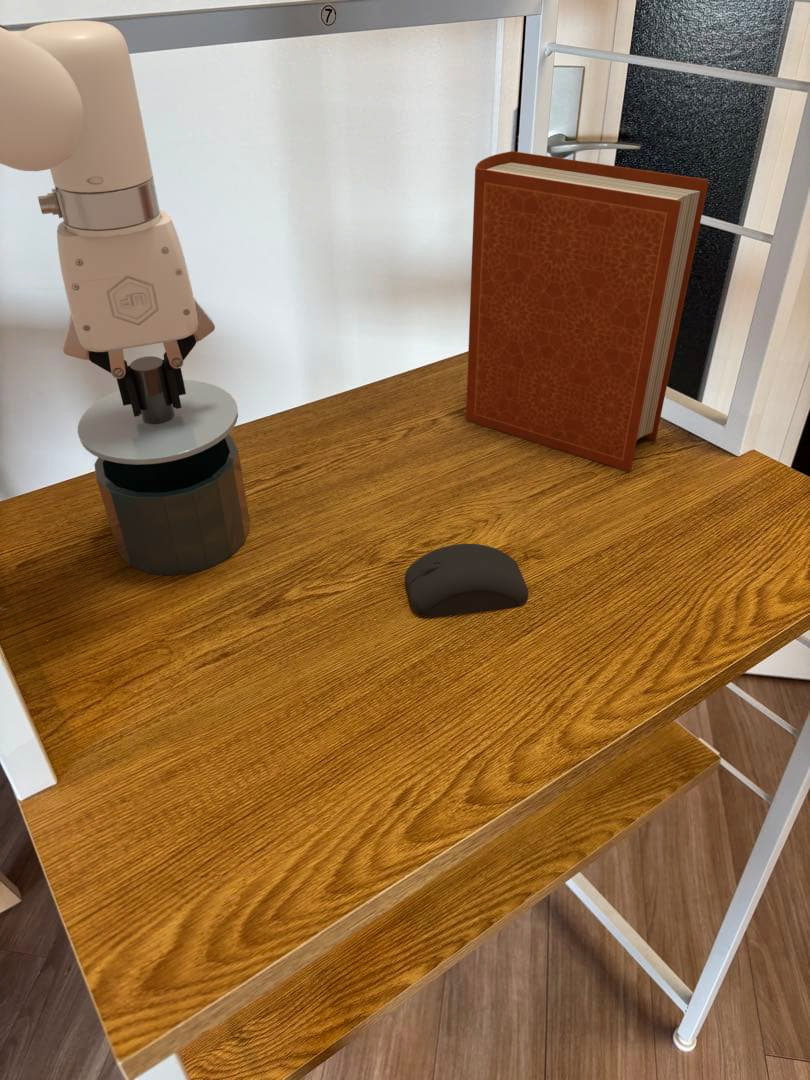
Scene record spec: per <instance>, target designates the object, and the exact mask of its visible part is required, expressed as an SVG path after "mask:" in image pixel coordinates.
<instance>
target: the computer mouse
mask: <svg viewBox="0 0 810 1080" xmlns="http://www.w3.org/2000/svg"><path fill="white" fill-rule="evenodd" d="M404 581H405V585H406V589H407V593H408V597H409V600H410V605H411V608H412V609H413V611H414V612H415V613H416V614H418V615H419V616H422V617H424V618H438V617H446V616H455V615H460V614H468V613H476V612H485V611H492V610H494V611H495V610H500V609H510V608H516V607H521V606H523V605H524V604H526V603H527V602H528V598H529V589H528V586H527V583H526V581H525V578H524V576H523V574H522V572H521V569H520V567H519V564H518V563H517V561H516V560H515V559H514V558H513V557H512V556H511V555H509V554H507V553H505V552H504V551H502V550H499V549H497V548H495V547H492V546H488V545H484V544H480V543H456V544H451V545H445V546H442V547H440V548H436V549H434V550H431V551H429V552H428V553H426V554H423V555H422V556H420V557H419V558H418V559H416V560H415V561H414V562H412V564H411V565H409V566H408V568H407V569H406V571H405V574H404Z"/></svg>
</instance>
